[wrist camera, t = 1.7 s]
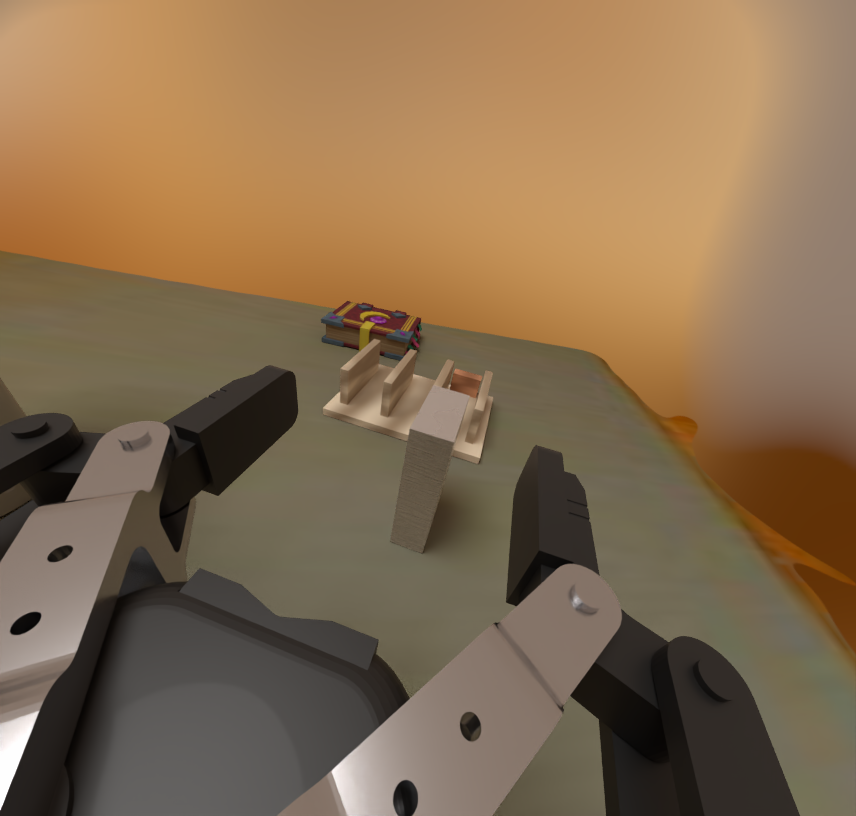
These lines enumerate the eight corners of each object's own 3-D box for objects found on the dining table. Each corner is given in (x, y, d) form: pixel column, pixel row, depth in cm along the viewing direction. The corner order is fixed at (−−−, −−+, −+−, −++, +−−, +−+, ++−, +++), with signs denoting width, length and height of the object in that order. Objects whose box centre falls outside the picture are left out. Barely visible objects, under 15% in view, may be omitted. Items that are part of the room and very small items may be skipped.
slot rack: (323, 414, 41) (322, 373, 37) (369, 366, 52) (371, 331, 49) (477, 464, 38) (492, 424, 35) (491, 402, 50) (503, 368, 46)
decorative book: (346, 321, 66) (347, 296, 63) (424, 340, 65) (428, 315, 62) (321, 343, 56) (320, 315, 54) (411, 365, 56) (416, 338, 53)
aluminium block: (389, 541, 29) (409, 428, 21) (411, 491, 34) (433, 384, 26) (422, 553, 28) (454, 442, 21) (439, 501, 33) (469, 395, 26)
